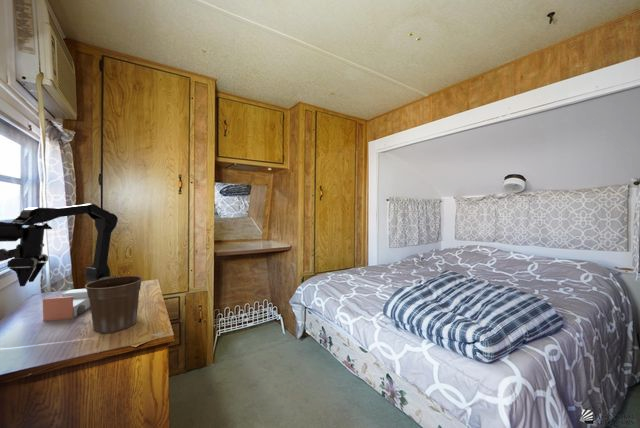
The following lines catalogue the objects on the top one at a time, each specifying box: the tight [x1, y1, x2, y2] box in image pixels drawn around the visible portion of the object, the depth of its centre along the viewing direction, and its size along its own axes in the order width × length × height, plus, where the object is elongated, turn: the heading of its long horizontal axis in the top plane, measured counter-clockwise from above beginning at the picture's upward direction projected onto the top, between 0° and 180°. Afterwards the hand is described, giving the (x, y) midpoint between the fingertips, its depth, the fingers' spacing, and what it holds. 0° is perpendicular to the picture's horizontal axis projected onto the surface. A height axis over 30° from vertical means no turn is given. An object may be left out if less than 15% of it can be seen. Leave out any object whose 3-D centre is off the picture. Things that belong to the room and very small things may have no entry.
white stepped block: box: [61, 288, 91, 318], centre depth 106 cm, size 15×11×7 cm
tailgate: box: [42, 296, 75, 322], centre depth 98 cm, size 1×9×8 cm, turn 107°
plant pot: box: [84, 275, 143, 334], centre depth 94 cm, size 16×16×16 cm
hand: (26, 284), depth 96 cm, fingers open, 9 cm apart
